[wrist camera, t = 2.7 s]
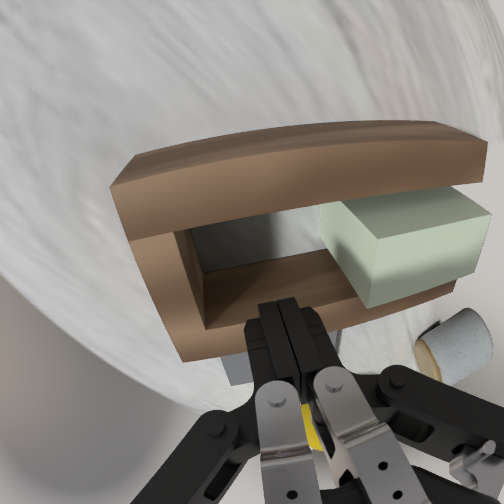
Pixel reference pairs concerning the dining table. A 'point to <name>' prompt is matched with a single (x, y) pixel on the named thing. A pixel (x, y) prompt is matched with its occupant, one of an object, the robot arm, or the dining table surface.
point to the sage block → (404, 241)
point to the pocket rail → (267, 201)
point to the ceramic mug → (454, 348)
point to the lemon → (310, 428)
